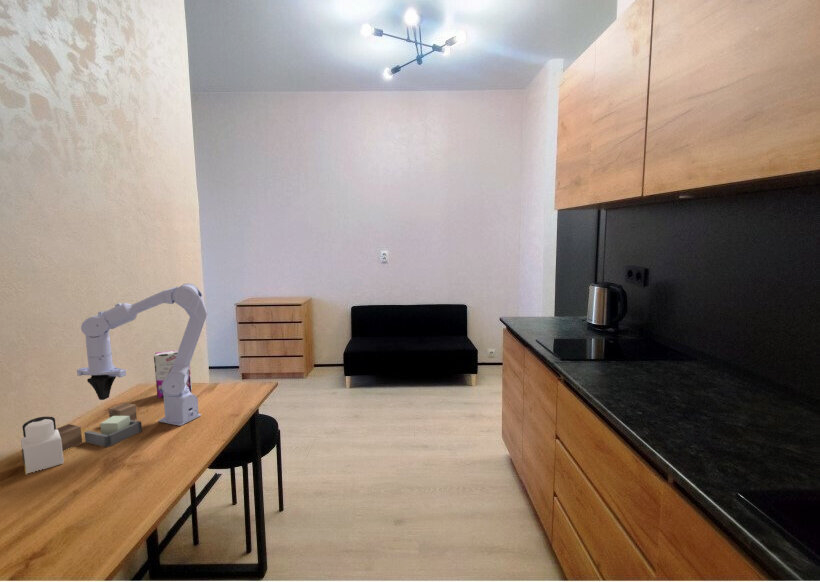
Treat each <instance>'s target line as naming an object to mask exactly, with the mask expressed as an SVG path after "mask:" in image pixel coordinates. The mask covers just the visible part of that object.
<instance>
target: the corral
mask: <svg viewBox="0 0 820 582" xmlns="http://www.w3.org/2000/svg"><path fill="white" fill-rule="evenodd" d="M130 424H131V425H129V426H127V427H125V428H122V429H120V430H118V431H116V432H113V433H111V434H109V435H106V434H101V432H97V431H91V430H86V431H84V432H83V433H84V442H85V443H88V444H92V445H96V446H100V447H105V448H109V447H112V446H114V445H115V444H118V443H120V442H123V441H124V440H127V439H128V438H131V437H133V436H134V435H135V436H136V434H139V433H141V432H143V426H142V421H141V420H130Z"/></svg>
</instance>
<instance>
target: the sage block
mask: <svg viewBox="0 0 820 582" xmlns="http://www.w3.org/2000/svg"><path fill="white" fill-rule="evenodd" d="M99 424H100V433H101V434H106V435H109V434H111V433H113V432H116V431H118V430H120V429H122V428H125V427H127V426H129V425H131V424H130V416H112V417H110V418H109V417H108V418H107V419H106V420H103V421H102V422H100V423H99Z"/></svg>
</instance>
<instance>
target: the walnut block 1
mask: <svg viewBox="0 0 820 582" xmlns="http://www.w3.org/2000/svg"><path fill="white" fill-rule="evenodd" d="M56 429H57V430H58V431H59V434H60V437H61V442H62V451H63V452H65V451H67V450H69V449H71V447H72V448H74V447H76V446H78V445H80V444H82V443H83V436H82V428H81V426H80V425H76V424H75V425H74V424H72V423H71V424H70V423H68V424H65V425H62V426H60V427H56ZM68 448H69V449H68ZM66 449H67V450H66ZM64 450H65V451H64Z"/></svg>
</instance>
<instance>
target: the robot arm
mask: <svg viewBox="0 0 820 582" xmlns="http://www.w3.org/2000/svg"><path fill="white" fill-rule="evenodd" d="M162 304H167V305H174V304H176V305H178V306H179V307H181V308H182V309H184V311H185V312H186V313H187V315H188V316H189V319H188V321H187V323H186V324H187V325H186V328H185V330H184V333H183V336H182V338H181V341H180V344H179V347H178V349H177V350H178V352H177V355H176V358H175V361H174V364H173V366H172V369H171V371H170V372H169V373H168V375H167V377H166V379H165V380H164V381H163V383H162V390H163V397H162V398H163V407H164V417H162V418H160V419H159V420H158V422H159V423H163V424H164V423H165V424H169V425H174V426H179V427H180V426H183V425H185V424H188V423H189V422H191V421H193V420H195V419H197V418H199V417H201V416H202V414H201V413H199V401H198V400H199V399H198V397H197V395H196V394H194V393H192V391H191V392H190V391H189V388H188V386H187V385H186V382H187V381H188V378H189V376H188V369H189V365H190V366H191V361H192V359H193V356H194V353H195V351H196V348H197V345H198V342H199V339H200V337H201V333H202V332H203V329H204V325H205V323H206V320H207V316H208V310H207V307H206V303H205V300H204V297H203V293H202V291H201V290H200V289H199V288H198V287H197V285H195V284H193V283H190V282H189V283H183V284H182V285H180V286H178V285H177V286H173V287H171V288H170V287H169V288H167V289H163V290H161V291H159V292H157V293H154V294H152V295H150V296H149V297H145V298H143V299H142V300H140V301H137V302H135V303H133V304H132V303H128V302H124V303H121V302H119V303H116V304H114V307H111V308H110V309H107V310H104V311H103V310H101V311H98V312H97V314H96V315H93V316H90V317H87V318H86V319H85V320H84V321H83V322H82V323H81V324H80V325H81V326H80V329H81V332H82V333H83V334H84V335H85V346H86V347H85V348H86V355H87V356H86V357H87V364H88V367H81V368H78V369H76V373H77V374H76V375H77V376H78V377H81V376H90V377H89V378H87V379H86V380H87V383H88V384H89V385H90V386H91V387H92V388H93V389H94V391H95V393H96V396H97V398H98V400H100V401H104V400H108V398H110V393H111V389H112V387H113V383H114V381H115V379H116V378H123V377H125V376H127V370H126V368H119V367H116V366H115V364H114V363H113V353H112V344H111V338H110V330H114V329H116V328H118V327H119V328H120V327H121V326H124V325H126V324H128V323H130V322H133V321H135V320H136V318H137V316H138V314H139V313H142V312H145V311H147V310H150V309H151V308H155V307H157V306H159V305H162Z"/></svg>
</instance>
